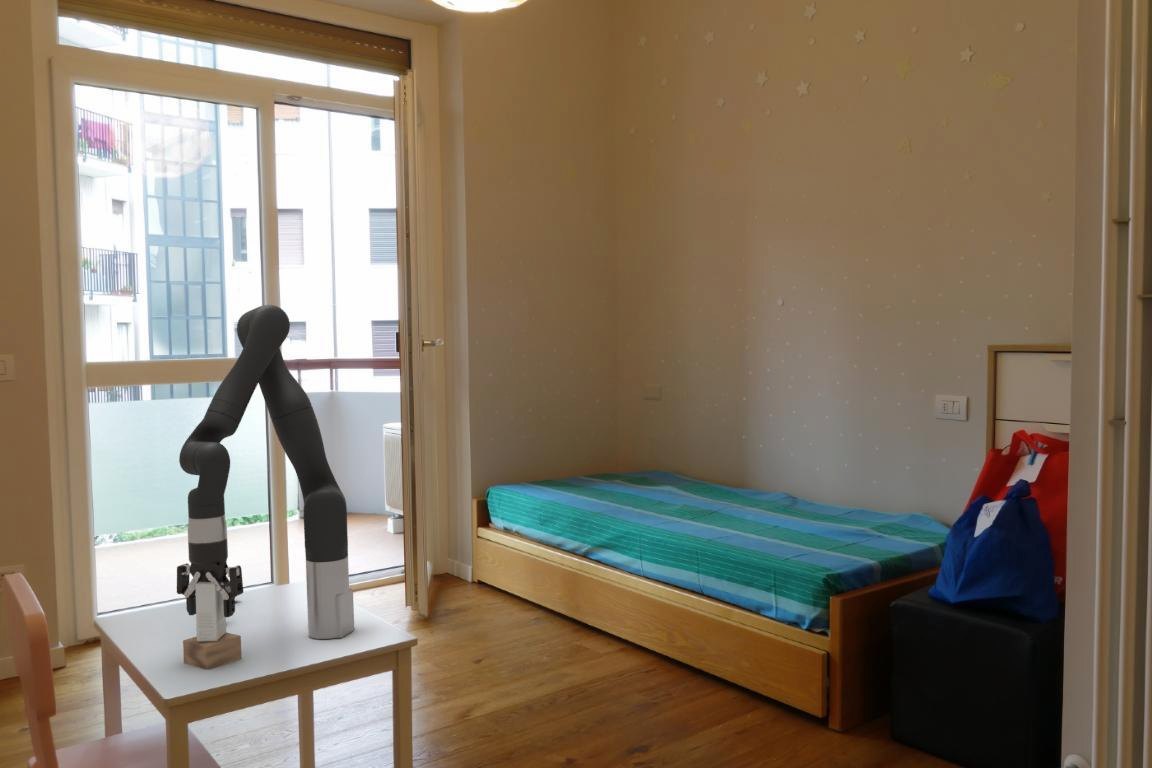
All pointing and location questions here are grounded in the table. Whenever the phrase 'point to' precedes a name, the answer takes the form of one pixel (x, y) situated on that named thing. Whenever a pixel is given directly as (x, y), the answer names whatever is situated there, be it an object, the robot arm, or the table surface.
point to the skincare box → (209, 612)
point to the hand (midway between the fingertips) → (210, 615)
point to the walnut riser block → (212, 651)
